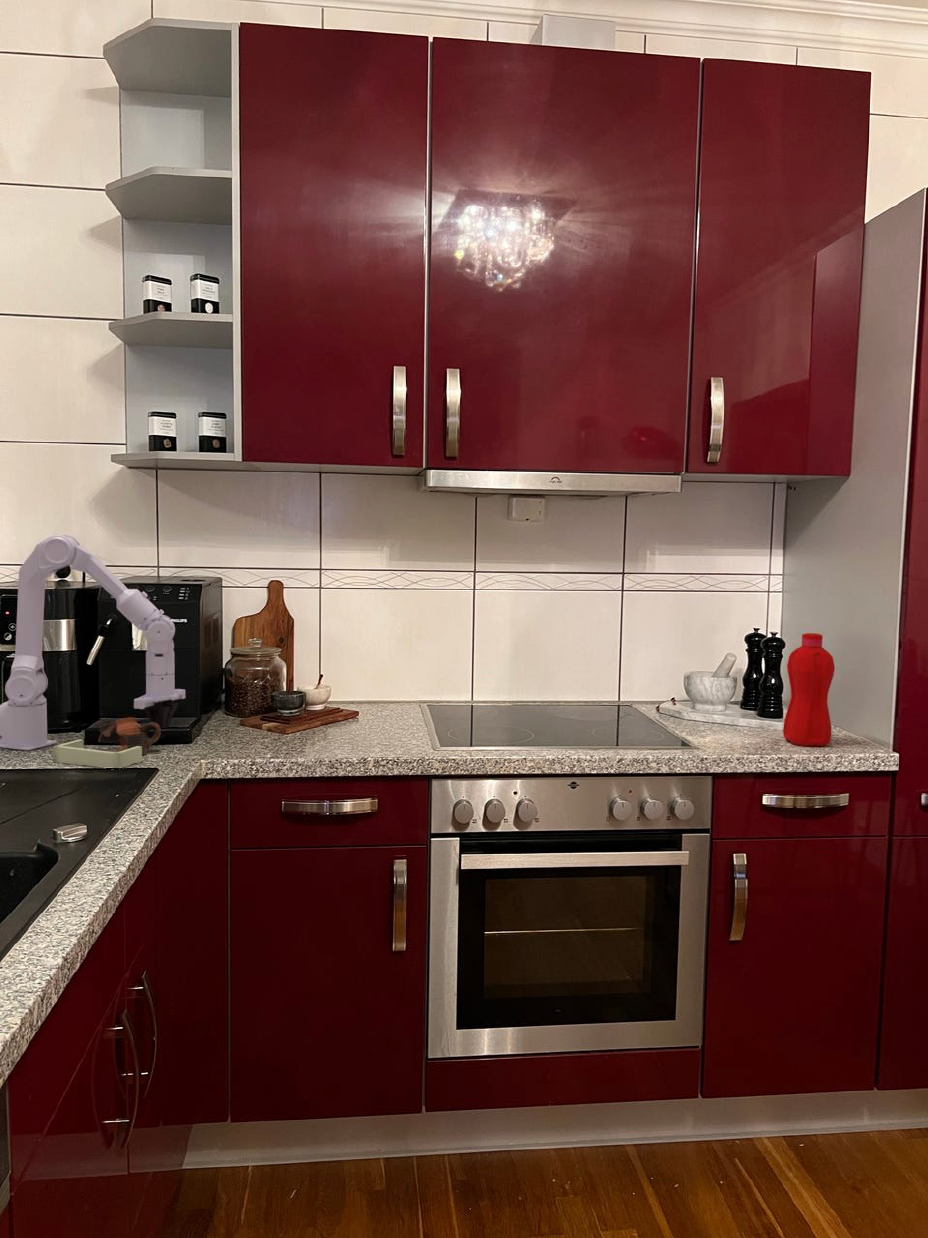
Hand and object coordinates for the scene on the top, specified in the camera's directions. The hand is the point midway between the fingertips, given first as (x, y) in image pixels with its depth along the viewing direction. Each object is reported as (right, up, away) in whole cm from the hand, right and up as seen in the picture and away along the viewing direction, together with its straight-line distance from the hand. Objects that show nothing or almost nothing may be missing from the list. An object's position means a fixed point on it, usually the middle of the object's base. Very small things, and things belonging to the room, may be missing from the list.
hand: (160, 737), depth 198 cm
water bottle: (+142, -3, +15) cm, 143 cm away
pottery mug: (-3, -2, -10) cm, 10 cm away
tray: (-6, -3, -18) cm, 19 cm away
